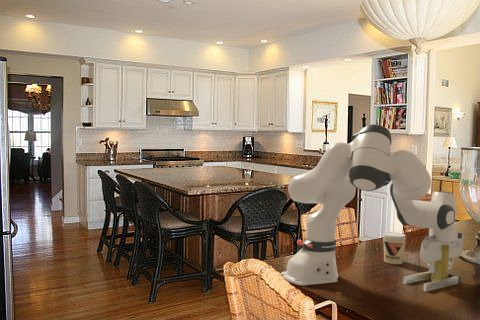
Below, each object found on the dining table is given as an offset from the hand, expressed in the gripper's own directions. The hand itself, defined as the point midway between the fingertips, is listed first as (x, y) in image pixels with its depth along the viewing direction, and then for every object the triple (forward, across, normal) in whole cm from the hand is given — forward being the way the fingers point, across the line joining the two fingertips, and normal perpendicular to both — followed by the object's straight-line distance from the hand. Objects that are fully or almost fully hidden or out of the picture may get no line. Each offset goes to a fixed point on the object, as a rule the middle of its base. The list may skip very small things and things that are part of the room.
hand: (440, 270), depth 161 cm
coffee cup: (+4, +5, +26) cm, 27 cm away
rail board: (+4, -5, 0) cm, 7 cm away
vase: (+4, 0, 0) cm, 4 cm away
